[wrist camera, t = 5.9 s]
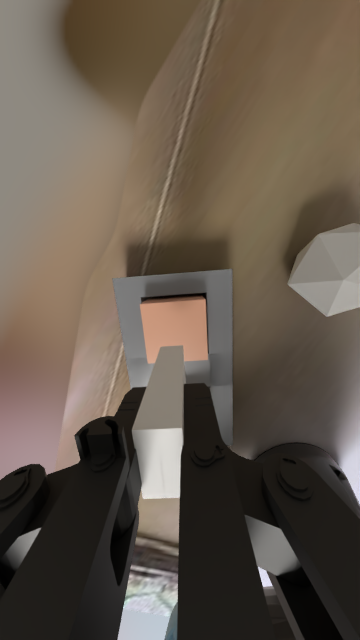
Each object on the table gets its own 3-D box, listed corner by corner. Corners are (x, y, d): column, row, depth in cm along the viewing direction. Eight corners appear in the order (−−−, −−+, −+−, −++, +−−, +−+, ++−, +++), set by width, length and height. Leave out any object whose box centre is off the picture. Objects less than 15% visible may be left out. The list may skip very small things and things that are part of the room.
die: (262, 294, 23) (339, 345, 16) (284, 221, 17) (420, 256, 10) (306, 276, 25) (390, 315, 18) (339, 206, 19) (481, 227, 12)
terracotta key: (200, 293, 20) (205, 299, 16) (202, 341, 22) (207, 359, 17) (149, 297, 21) (139, 304, 16) (155, 344, 22) (147, 363, 17)
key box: (222, 270, 21) (232, 268, 17) (224, 417, 27) (232, 445, 22) (126, 277, 22) (112, 278, 17) (147, 421, 27) (141, 449, 23)
